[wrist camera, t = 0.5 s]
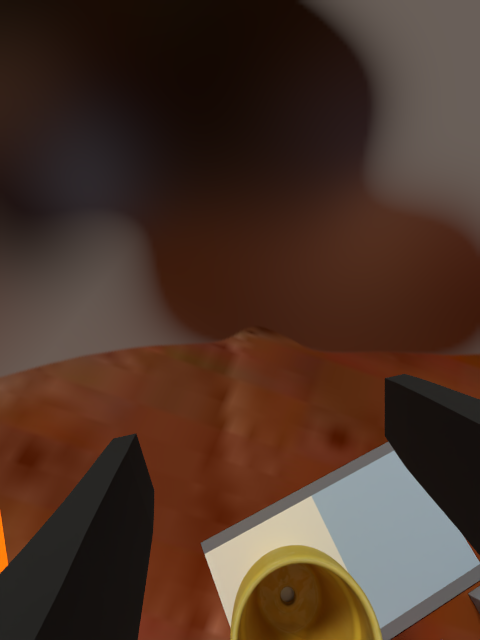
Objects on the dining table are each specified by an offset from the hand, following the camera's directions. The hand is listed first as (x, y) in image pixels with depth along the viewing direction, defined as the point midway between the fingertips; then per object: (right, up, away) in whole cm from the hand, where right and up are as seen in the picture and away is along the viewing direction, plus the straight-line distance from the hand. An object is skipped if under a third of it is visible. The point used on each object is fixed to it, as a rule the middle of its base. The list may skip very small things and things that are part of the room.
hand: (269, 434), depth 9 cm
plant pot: (+4, -23, +22) cm, 31 cm away
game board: (+9, -20, +23) cm, 32 cm away
